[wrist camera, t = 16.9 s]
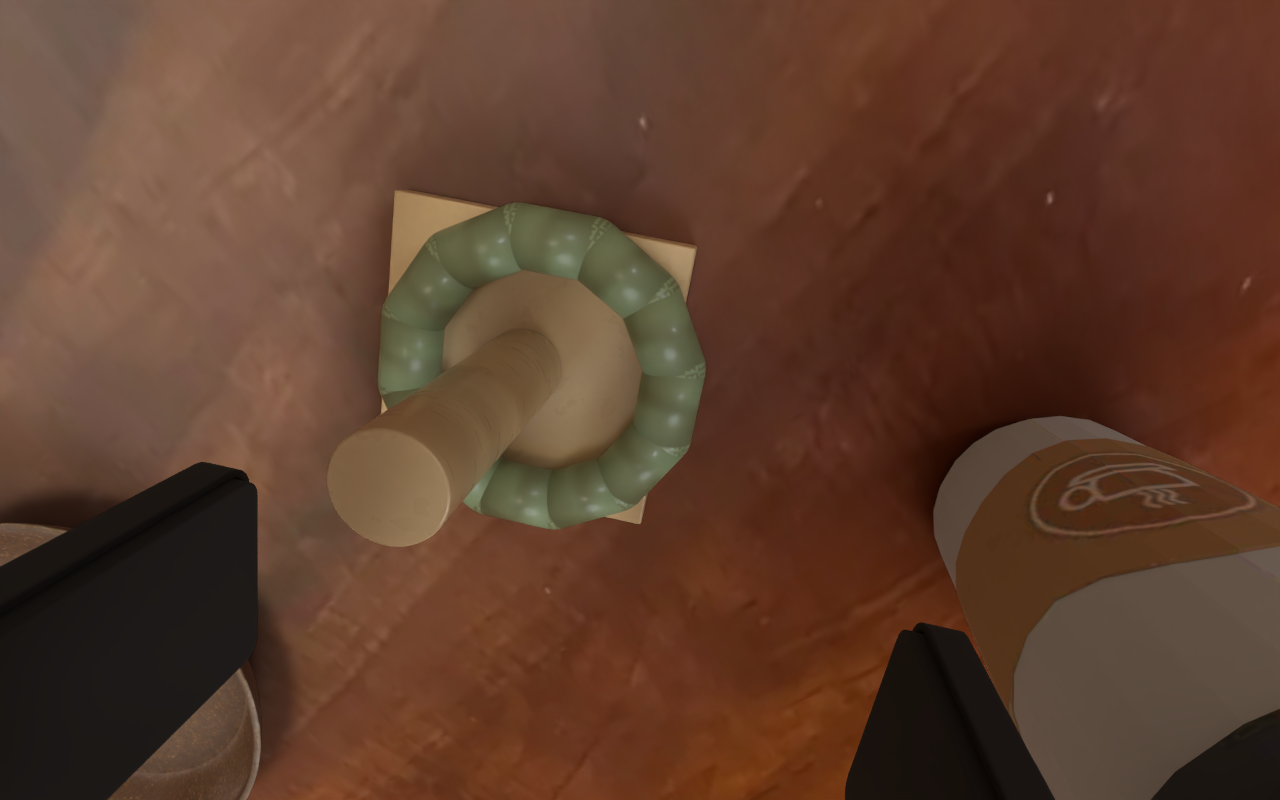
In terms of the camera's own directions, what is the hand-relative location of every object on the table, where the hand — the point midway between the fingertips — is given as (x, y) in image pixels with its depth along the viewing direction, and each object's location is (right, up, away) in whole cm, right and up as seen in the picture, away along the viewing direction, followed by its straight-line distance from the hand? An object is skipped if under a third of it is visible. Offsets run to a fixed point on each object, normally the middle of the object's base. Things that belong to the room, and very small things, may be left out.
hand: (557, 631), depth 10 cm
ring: (-2, +4, +10) cm, 11 cm away
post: (-2, +5, +12) cm, 13 cm away
